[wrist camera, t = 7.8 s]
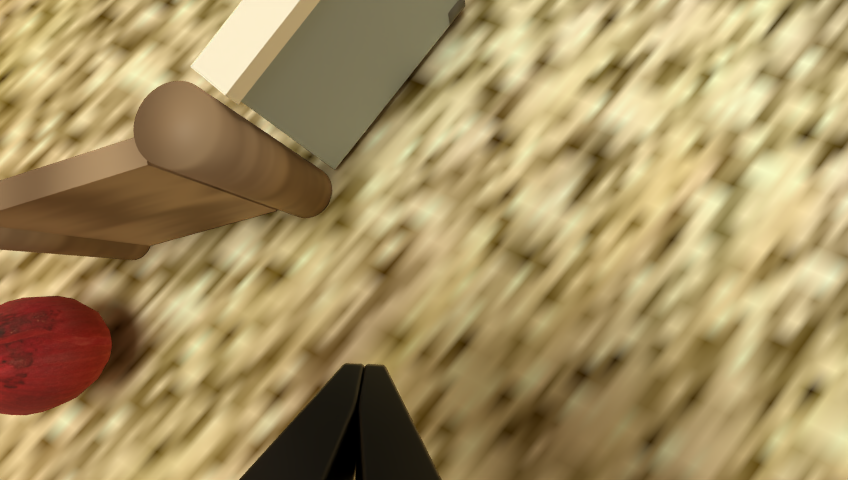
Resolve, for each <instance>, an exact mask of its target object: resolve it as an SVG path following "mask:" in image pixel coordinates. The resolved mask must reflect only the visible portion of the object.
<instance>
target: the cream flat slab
mask: <svg viewBox="0 0 848 480" xmlns="http://www.w3.org/2000/svg"><path fill="white" fill-rule="evenodd" d="M464 7H465V0H242V1H241V2H240V4H239V5H238V6H237V8H236V9H235V10H234V11H233V13H232V14H231V15H230V16H229V18H228V19H227V20H226V22H225V23H224V24H223V25H222V27H221V28H220V29H219V31H218V32H217V33H216V34H215V36H214V37H213V38H212V39H211V41H210V42H209V43H208V45H207V46H206V47H205V48H204V50H203V51H202V52H201V54H200V55H199V56H198V57H197V59H196V60H195V61H194V62H193V64H192V65H191V66H190V67H191V68H192V69H194V70H195V71H196V72H197V73H199V74H200V75H201V76H202V77H203V78H205V79H206V80H207V81H208V82H209V83H211V84H212V85H213V86H214V87H216V88H217V89H218V90H219V91H220V92H222V93H223V94H224V95H225V96H227V97H228V98H229V99H231V100H232V101H234V102H235V103H236V104H239V103H240V102H243V103H244V104H246V105H247V106H248V107H250V108H251V109H252V110H254V111H255V112H256V113H258V114H259V115H261V116H262V117H263V118H265V119H266V120H267V121H269V122H270V123H271V124H273V125H274V126H276V127H277V128H278V129H280V130H281V131H282V132H284V133H285V134H286V135H288V136H289V137H291V138H292V139H293V140H295V141H296V142H297V143H299V144H300V145H302V146H303V147H304V148H306V149H307V150H308V151H310V152H311V153H312V154H314V155H315V156H317V157H318V158H319V159H321V160H322V161H323V162H325V163H326V164H327V165H329V166H330V167H332V168H333V169H334V170H335V169H336V168H337V166H338V165H339V164H340V163H341V161H342V160H343V159H344V158H345V156H346V155H347V154H348V153H349V151H350V150H351V149H352V148H353V146H354V145H355V144H356V143H357V141H358V140H359V139H360V137H361V136H362V135H363V134H364V132H365V131H366V130H367V129H368V127H369V126H370V125H371V124H372V122H373V121H374V120H375V119H376V117H377V116H378V115H379V114H380V112H381V111H382V110H383V109H384V107H385V106H386V105H387V104H388V102H389V101H390V100H391V99H392V97H393V96H394V95H395V94H396V92H397V91H398V90H399V89H400V87H401V86H402V85H403V84H404V82H405V81H406V80H407V78H408V77H409V76H410V75H411V73H412V72H413V71H414V70H415V68H416V67H417V66H418V65H419V63H420V62H421V61H422V60H423V58H424V57H425V56H426V55H427V53H428V52H429V51H430V50H431V48H432V47H433V46H434V45H435V43H436V42H437V41H438V40H439V38H440V37H441V36H442V35H443V33H444V32H445V31H446V30H447V28H448V27H449V26H450V25H451V23H452V22H453V21H454V20H455V18H456V17H457V16H458V15H459V13H460V12H461V11H462V10H463V8H464Z"/></svg>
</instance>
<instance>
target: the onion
mask: <svg viewBox="0 0 848 480" xmlns="http://www.w3.org/2000/svg"><path fill="white" fill-rule="evenodd" d="M111 349H112V341H111V335H110V330H109V329H108V327H107V325H106V324H105V322H104V320H103V319H102V317H101V316H100V314H99V313H98V312H97V311H95V310H93V309H91V308H89V307H88V306H86V305H84V304H82V303H80V302H78V301H77V300H75V299H72V298H66V297H60V296H47V297H29V298H21V299H17V300H13V301H9V302H6V303H4V304H2V305H0V413H1V414H9V415H29V414H34V413H39V412H44V411H46V410H49V409H51V408H54V407H56V406H59V405H61V404H63V403H65V402H68V401H70V400H72V399H74V398H76V397H77V396H79V395H80V394H81V393H82V392H83V391H84V390H85V389H87V388H88V387H89V386H90V385H91V384H92V383H93V382H94V381H96V380H97V379H98V378H99V376H100V374H101V372H102V371H103V369H104V367H105V365H106V364H107V362H108V360H109V359H110V354H111Z"/></svg>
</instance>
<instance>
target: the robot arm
mask: <svg viewBox="0 0 848 480" xmlns="http://www.w3.org/2000/svg"><path fill="white" fill-rule="evenodd" d="M355 470H356V473H355ZM354 477H355V480H441V478H440V476H439V474H438V472H437V470H436V468H435V466H434V464H433V462H432V460H431V458H430V456H429V454H428V452H427V450H426V448H425V446H424V443H423V441H422V439H421V437H420V435H419V433H418V431H417V429H416V427H415V425H414V423H413V421H412V419H411V417H410V415H409V413H408V411H407V409H406V407H405V405H404V403H403V401H402V399H401V397H400V395H399V393H398V391H397V389H396V387H395V385H394V383H393V381H392V379H391V377H390V375H389V373H388V371H387V369H386V367H385V366H384V365H375V364H367V365H366V366H365V368H364V365H363V364H354V363H346V364H344V365H343V366H342V367H341V368H340V369H339V370H338V371H337V372H336V373H335V375H334V376H333V377H332V378H331V379H330V380H329V381H328V382H327V383H326V384H325V386H324V387H323V388H322V389H321V390H320V391H319V392H318V393H317V394H316V396H315V397H314V398H313V399H312V400H311V401H310V402H309V403H308V404H307V405H306V407H305V408H304V409H303V410H302V411H301V412H300V413H299V414H298V415H297V416H296V418H295V419H294V420H293V421H292V422H291V423H290V424H289V425H288V426H287V428H286V429H285V430H284V431H283V432H282V433H281V434H280V435H279V436H278V437H277V439H276V440H275V441H274V442H273V443H272V444H271V445H270V446H269V447H268V448H267V450H266V451H265V452H264V453H263V454H262V455H261V456H260V457H259V458H258V460H257V461H256V462H255V463H254V464H253V465H252V466H251V467H250V468H249V469H248V471H247V472H246V473H245V474H244V475H243V476H242V477H241V478H240V479H239V480H354Z"/></svg>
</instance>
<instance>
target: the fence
mask: <svg viewBox="0 0 848 480" xmlns="http://www.w3.org/2000/svg"><path fill="white" fill-rule="evenodd" d="M331 194H332V187H331V182H330V180H329V178H328V176H327V175H326V174H325V173H324V172H323V171H322V170H320V169H319V168H317V167H316V166H315V165H313V164H312V163H310V162H309V161H307V160H306V159H304V158H303V157H301V156H300V155H298V154H297V153H295V152H294V151H292V150H291V149H289V148H288V147H286V146H285V145H283V144H282V143H280V142H279V141H277V140H276V139H275V138H273V137H272V136H270V135H269V134H267V133H266V132H264V131H263V130H261V129H260V128H258V127H257V126H255V125H254V124H252V123H251V122H249V121H248V120H246V119H245V118H243V117H242V116H240V115H239V114H237V113H236V112H235V111H233V110H232V109H230V108H229V107H227V106H226V105H224V104H223V103H221V102H220V101H218V100H217V99H215V98H214V97H212V96H211V95H209V94H208V93H206V92H205V91H203V90H202V89H200V88H199V87H197V86H196V85H194V84H192V83H189V82H185V81H173V82H169V83H166V84H163V85H161V86H159V87H157V88H156V89H155V90H153V91H152V92H151V93H150V94H149V95H148V96H147V97H146V98H145V99H144V101H143V102H142V104H141V105H140V107H139V109H138V112H137V114H136V117H135V122H134V138H131V139H128V140H125V141H122V142H119V143H115V144H112V145H109V146H106V147H103V148H100V149H97V150H94V151H91V152H87V153H84V154H81V155H78V156H75V157H72V158H69V159H66V160H63V161H59V162H56V163H53V164H50V165H47V166H44V167H41V168H38V169H34V170H31V171H28V172H25V173H22V174H19V175H16V176H13V177H10V178H6V179H3V180H0V249H1V250H13V251H26V252H38V253H51V254H63V255H76V256H89V257H101V258H114V259H126V260H136V259H139V258H141V257H142V256H144V255H145V254H146V252H147V251H148V249H149V247H150V246H151V245H155V244H158V243H162V242H166V241H169V240H173V239H176V238H180V237H184V236H187V235H191V234H195V233H198V232H202V231H205V230H209V229H213V228H216V227H220V226H224V225H227V224H231V223H234V222H238V221H242V220H245V219H249V218H253V217H256V216H260V215H263V214H267V213H271V212H274V211H277V209H278V210H281V211H284V212H287V213H289V214H292V215H295V216H298V217H301V218H309V217H313V216H316V215H318V214H319V213H321V212H322V211H323V210H324V209H325V208H326V206H327V205H328V203H329V201H330V198H331Z"/></svg>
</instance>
